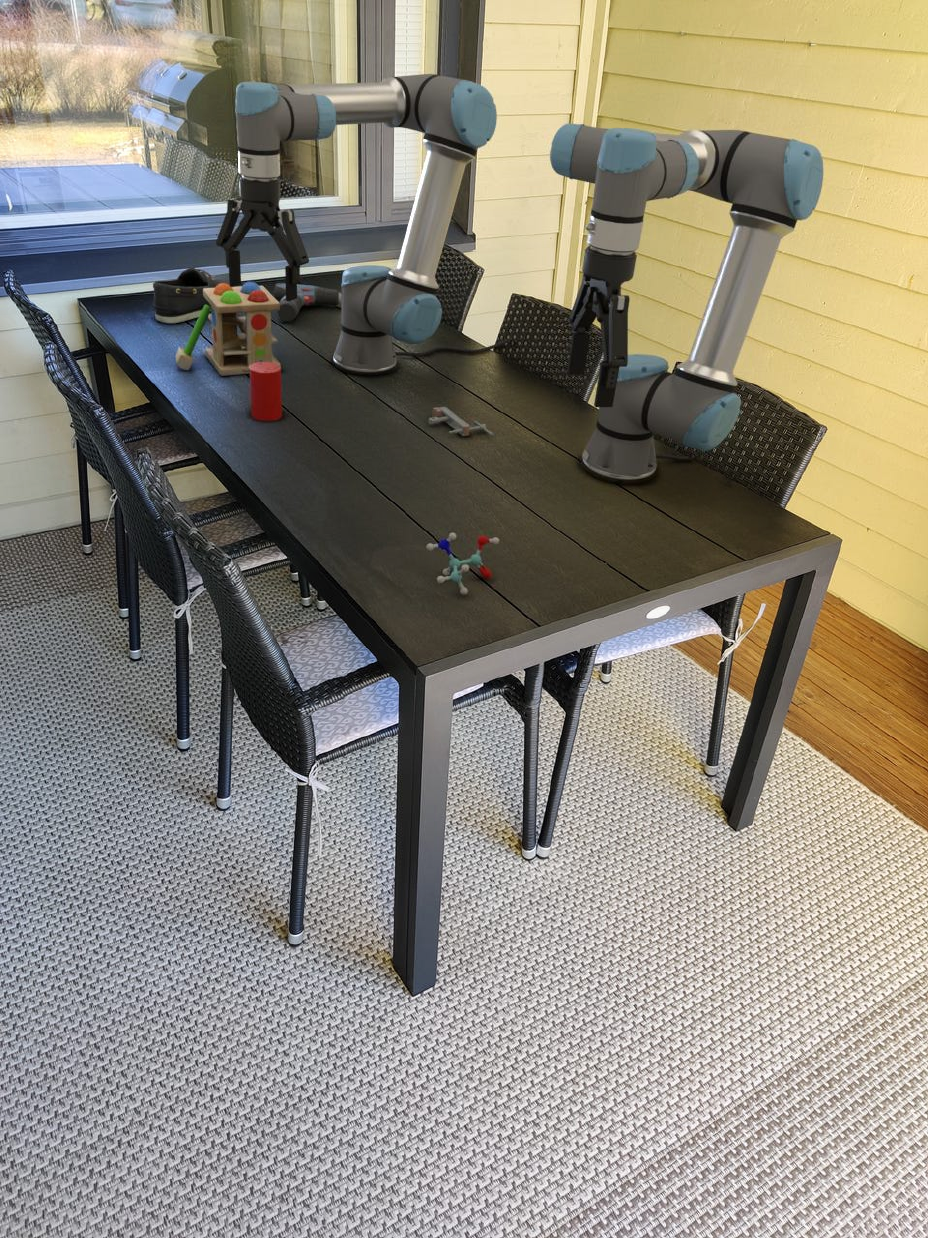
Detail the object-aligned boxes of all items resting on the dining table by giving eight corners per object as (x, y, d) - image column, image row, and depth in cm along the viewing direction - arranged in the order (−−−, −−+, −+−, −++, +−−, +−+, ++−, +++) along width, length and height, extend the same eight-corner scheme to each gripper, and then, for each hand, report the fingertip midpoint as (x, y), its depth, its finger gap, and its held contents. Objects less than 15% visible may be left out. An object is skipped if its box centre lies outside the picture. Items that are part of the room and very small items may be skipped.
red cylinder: (278, 408, 212) (276, 360, 206) (285, 419, 207) (284, 371, 202) (248, 410, 210) (246, 362, 204) (255, 422, 205) (253, 373, 199)
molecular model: (490, 589, 152) (470, 528, 150) (436, 605, 155) (416, 545, 154) (511, 574, 162) (492, 517, 161) (460, 589, 166) (441, 533, 164)
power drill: (335, 306, 256) (344, 285, 273) (264, 300, 255) (277, 279, 272) (335, 327, 259) (344, 304, 276) (264, 320, 258) (277, 299, 275)
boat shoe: (261, 302, 273) (259, 263, 267) (172, 325, 249) (168, 283, 243) (227, 293, 278) (225, 255, 273) (137, 316, 254) (132, 274, 249)
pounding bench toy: (183, 379, 220) (176, 299, 210) (169, 357, 231) (162, 280, 221) (282, 371, 230) (280, 294, 220) (264, 350, 240) (262, 276, 230)
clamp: (420, 409, 212) (460, 403, 217) (420, 418, 213) (460, 412, 218) (454, 436, 202) (496, 430, 206) (454, 446, 203) (495, 439, 208)
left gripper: (193, 168, 184) (200, 283, 196) (303, 191, 175) (304, 309, 187) (218, 163, 189) (224, 275, 201) (327, 185, 181) (326, 301, 193)
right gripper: (561, 226, 150) (543, 360, 162) (616, 272, 130) (591, 421, 142) (607, 228, 152) (586, 361, 164) (668, 273, 132) (639, 421, 144)
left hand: (263, 292), depth 194 cm, fingers open, 13 cm apart
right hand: (588, 389), depth 153 cm, fingers open, 13 cm apart
